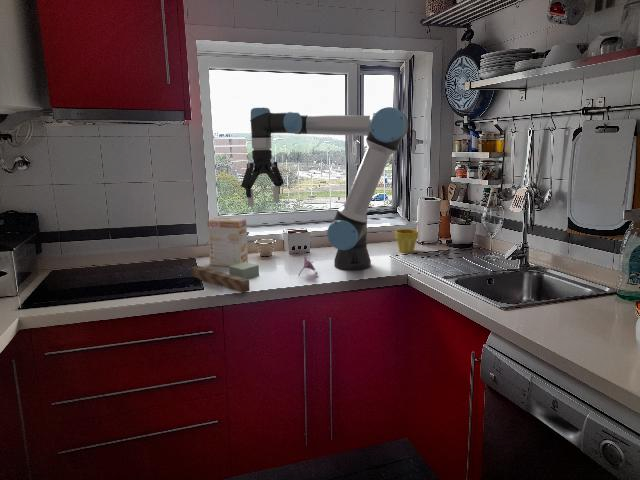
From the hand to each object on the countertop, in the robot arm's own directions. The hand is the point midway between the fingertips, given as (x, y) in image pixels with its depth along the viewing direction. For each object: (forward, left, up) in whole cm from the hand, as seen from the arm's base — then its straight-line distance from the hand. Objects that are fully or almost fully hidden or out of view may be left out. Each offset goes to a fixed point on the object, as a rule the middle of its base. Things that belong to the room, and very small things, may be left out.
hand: (264, 204), depth 178 cm
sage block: (-1, +12, -27) cm, 30 cm away
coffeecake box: (+18, +5, -27) cm, 33 cm away
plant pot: (-30, -61, -27) cm, 73 cm away
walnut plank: (-1, +25, -27) cm, 36 cm away
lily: (-20, -4, -27) cm, 34 cm away
